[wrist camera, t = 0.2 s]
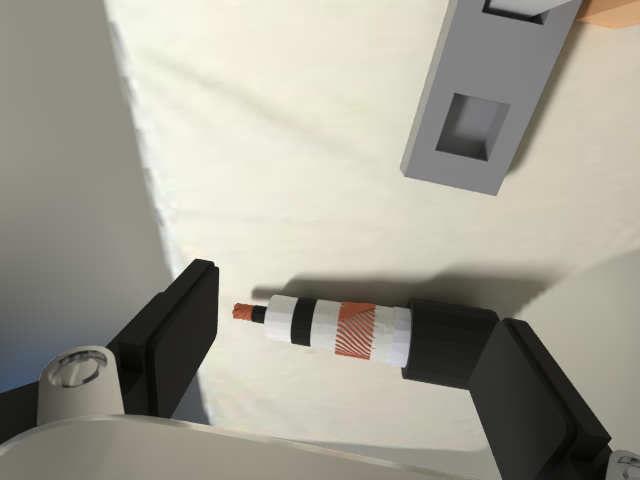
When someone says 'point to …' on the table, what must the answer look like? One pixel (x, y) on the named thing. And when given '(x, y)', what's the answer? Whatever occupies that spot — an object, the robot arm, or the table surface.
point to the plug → (610, 13)
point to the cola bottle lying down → (384, 333)
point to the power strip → (484, 89)
